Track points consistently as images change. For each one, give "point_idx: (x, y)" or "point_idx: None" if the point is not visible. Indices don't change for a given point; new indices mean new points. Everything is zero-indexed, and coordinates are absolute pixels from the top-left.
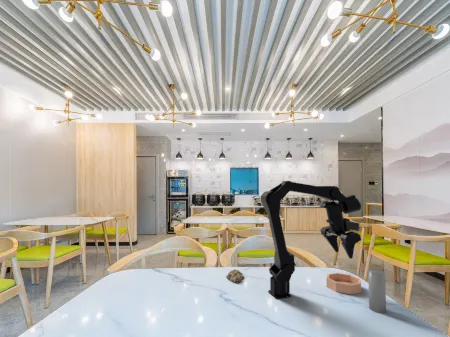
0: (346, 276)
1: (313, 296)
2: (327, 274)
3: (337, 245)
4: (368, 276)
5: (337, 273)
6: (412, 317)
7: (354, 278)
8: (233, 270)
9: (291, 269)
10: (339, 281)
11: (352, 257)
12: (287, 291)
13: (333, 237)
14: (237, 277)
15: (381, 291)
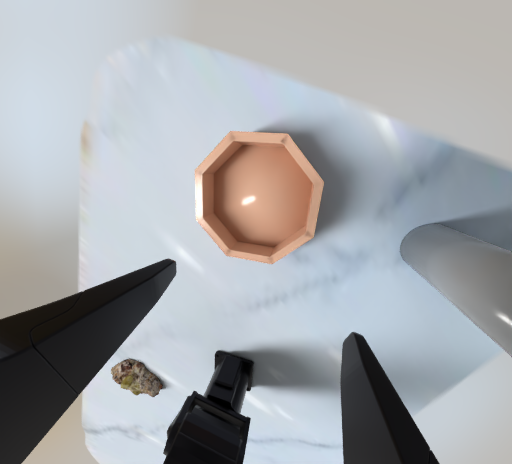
0: (227, 150)
1: (272, 323)
2: (200, 224)
3: (131, 295)
4: (497, 343)
5: (202, 175)
6: None
7: (262, 143)
8: (118, 383)
9: (241, 461)
10: (228, 182)
11: (365, 341)
12: (241, 370)
13: (5, 409)
14: (152, 396)
15: None
